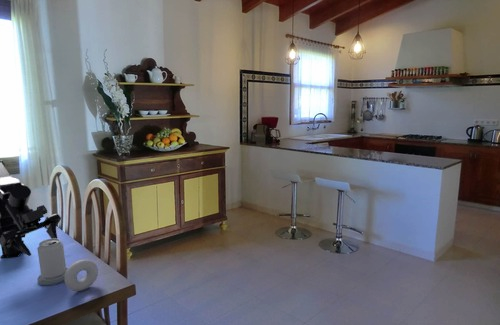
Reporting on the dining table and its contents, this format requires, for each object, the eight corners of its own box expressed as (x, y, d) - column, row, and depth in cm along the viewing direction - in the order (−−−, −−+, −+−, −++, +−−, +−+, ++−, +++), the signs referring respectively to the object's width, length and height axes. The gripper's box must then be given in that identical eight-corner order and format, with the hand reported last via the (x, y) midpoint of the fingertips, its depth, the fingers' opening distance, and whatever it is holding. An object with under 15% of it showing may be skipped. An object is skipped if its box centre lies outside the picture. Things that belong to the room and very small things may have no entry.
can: (55, 281, 112) (50, 247, 110) (36, 279, 114) (30, 245, 112) (71, 270, 120) (67, 237, 117) (53, 268, 121) (48, 236, 119)
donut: (68, 298, 105) (64, 268, 103) (64, 293, 107) (60, 264, 105) (101, 285, 112) (98, 256, 110) (97, 281, 114) (94, 253, 112)
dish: (32, 287, 111) (32, 284, 111) (44, 271, 121) (44, 269, 121) (65, 283, 113) (65, 280, 113) (75, 269, 123) (75, 266, 122)
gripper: (-4, 210, 108) (21, 250, 106) (54, 192, 124) (77, 227, 121) (-11, 227, 114) (12, 266, 112) (45, 208, 130) (67, 241, 127)
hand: (44, 249), depth 118 cm, fingers open, 9 cm apart
